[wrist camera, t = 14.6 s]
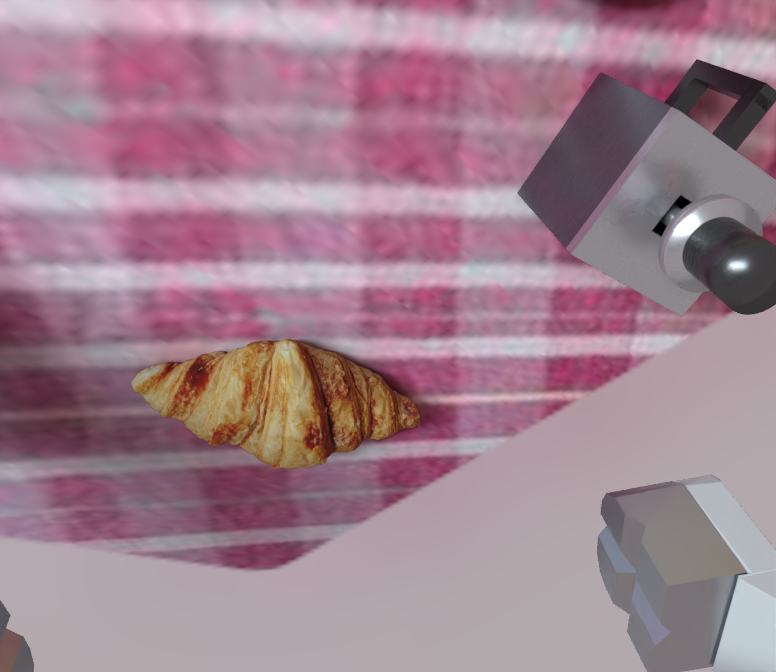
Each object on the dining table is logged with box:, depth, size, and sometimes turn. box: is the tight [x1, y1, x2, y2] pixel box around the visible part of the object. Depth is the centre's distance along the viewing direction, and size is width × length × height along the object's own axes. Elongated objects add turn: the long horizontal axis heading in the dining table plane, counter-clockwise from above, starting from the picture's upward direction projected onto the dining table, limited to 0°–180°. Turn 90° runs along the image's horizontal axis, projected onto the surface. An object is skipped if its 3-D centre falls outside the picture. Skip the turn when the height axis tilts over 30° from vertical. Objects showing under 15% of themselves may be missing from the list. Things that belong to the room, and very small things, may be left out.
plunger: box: [658, 194, 776, 315], centre depth 39 cm, size 5×5×15 cm
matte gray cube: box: [518, 59, 776, 316], centre depth 42 cm, size 12×9×10 cm
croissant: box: [131, 339, 420, 469], centre depth 50 cm, size 21×10×8 cm, turn 78°
